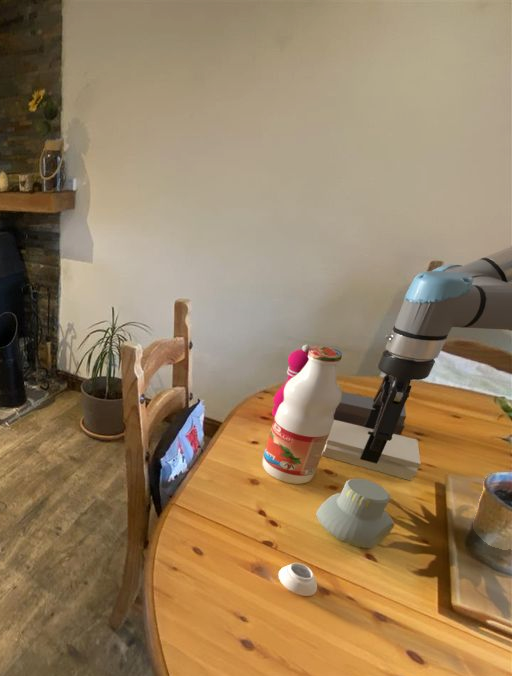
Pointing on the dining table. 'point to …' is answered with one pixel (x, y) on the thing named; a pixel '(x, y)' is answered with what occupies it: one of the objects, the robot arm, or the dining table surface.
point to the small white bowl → (298, 579)
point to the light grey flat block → (381, 465)
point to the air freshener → (357, 514)
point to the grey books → (361, 411)
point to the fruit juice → (304, 419)
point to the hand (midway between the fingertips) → (368, 447)
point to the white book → (357, 437)
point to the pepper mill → (292, 372)
